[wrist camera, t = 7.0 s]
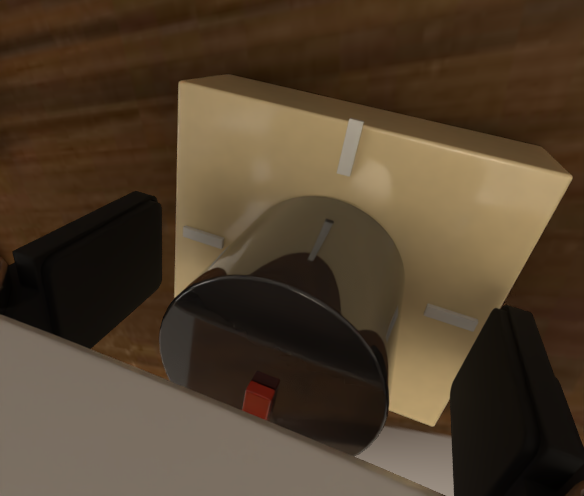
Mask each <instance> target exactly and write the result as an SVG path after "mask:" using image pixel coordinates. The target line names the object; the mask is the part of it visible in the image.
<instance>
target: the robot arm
mask: <svg viewBox="0 0 584 496" xmlns="http://www.w3.org/2000/svg"><path fill="white" fill-rule="evenodd" d="M12 252H13V256H14V260H15V263H13V264H11V265H9V266H8V264H7V262H6V261H5V260H4V259H3V258H1V257H0V496H445V495H443V494H440V493H438V492H436V491H433V490H431V489H429V488H426V487H424V486H422V485H420V484H417V483H415V482H412V481H410V480H408V479H405V478H403V477H401V476H399V475H396V474H394V473H391V472H389V471H387V470H385V469H382V468H380V467H378V466H375V465H373V464H370V463H368V462H366V461H363V460H361V459H358V458H356V457H354V456H351V455H349V454H346V453H344V452H342V451H339V450H337V449H334V448H332V447H329V446H327V445H325V444H322V443H320V442H317V441H315V440H313V439H310V438H308V437H305V436H303V435H300V434H298V433H296V432H293V431H291V430H288V429H286V428H283V427H281V426H279V425H276V424H274V423H271V422H269V421H267V420H264V419H262V418H259V417H257V416H254V415H252V414H249V413H247V412H244V411H242V410H240V409H237V408H235V407H232V406H230V405H227V404H225V403H222V402H220V401H218V400H215V399H213V398H210V397H208V396H205V395H203V394H200V393H198V392H195V391H193V390H190V389H188V388H186V387H183V386H181V385H178V384H176V383H173V382H171V381H168V380H166V379H163V378H161V377H158V376H156V375H154V374H151V373H149V372H146V371H144V370H141V369H139V368H136V367H134V366H131V365H129V364H126V363H124V362H121V361H119V360H116V359H114V358H111V357H109V356H106V355H104V354H101V353H99V352H96V351H94V350H91V348H92V347H93V346H94V345H95V344H97V343H98V342H99V341H100V340H101V339H102V338H103V337H104V336H106V335H107V334H108V333H109V332H110V331H111V330H112V329H113V328H115V327H116V326H117V325H118V324H119V323H120V322H121V321H122V320H124V319H125V318H126V317H127V316H128V315H129V314H130V313H131V312H133V311H134V310H135V309H136V308H137V307H138V306H139V305H140V304H142V303H143V302H144V301H145V300H146V299H147V298H148V297H149V296H151V295H152V294H153V293H154V292H155V291H156V290H157V289H158V288H159V286H160V284H161V281H162V207H161V204H160V203H158V201H157V198H156V197H155V196H151V195H148V194H145V193H142V192H138V191H134V192H132V193H130V194H128V195H126V196H124V197H122V198H120V199H118V200H116V201H113V202H111V203H109V204H107V205H105V206H103V207H101V208H99V209H97V210H95V211H93V212H91V213H89V214H87V215H85V216H83V217H81V218H79V219H77V220H75V221H73V222H71V223H69V224H67V225H65V226H63V227H61V228H59V229H57V230H55V231H53V232H51V233H49V234H47V235H45V236H43V237H41V238H39V239H37V240H35V241H33V242H31V243H28V244H26V245H24V246H22V247H20V248H18V249H16V250H14V251H12ZM450 410H451V433H452V456H453V479H454V496H584V447H583V445H582V442H581V439H580V437H579V434H578V431H577V428H576V426H575V423H574V420H573V417H572V415H571V412H570V409H569V407H568V404H567V401H566V398H565V396H564V393H563V390H562V387H561V385H560V383H559V381H558V379H557V378H556V377H555V376H554V373H553V370H552V367H551V365H550V362H549V359H548V356H547V353H546V351H545V348H544V345H543V342H542V340H541V337H540V334H539V331H538V328H537V326H536V323H535V320H534V317H533V315H532V313H530V312H528V311H524V310H521V309H518V308H515V307H511V306H508V305H505V306H503V307H502V308H501V309H498V308H494V309H493V310H492V311H491V313H490V315H489V317H488V318H487V320H486V322H485V324H484V326H483V328H482V329H481V331H480V333H479V335H478V337H477V338H476V340H475V342H474V344H473V346H472V348H471V349H470V351H469V353H468V355H467V357H466V359H465V360H464V362H463V364H462V366H461V368H460V369H459V371H458V373H457V375H456V377H455V379H454V380H453V383H452V386H451V390H450Z"/></svg>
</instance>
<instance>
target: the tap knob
mask: <svg viewBox="0 0 584 496" xmlns="http://www.w3.org/2000/svg"><path fill="white" fill-rule="evenodd" d="M404 289H405V272H404V266H403V262H402V259H401V256H400V253H399V251H398V249H397V247H396V245H395V243H394V241H393V240H392V238H391V237H390V236H389V234H388V233H387V232H386V231H385V229H384V228H383V227H382V226H381V225H380V224H379V223H378V222H377V221H376V220H374V219H373V218H372V217H371V216H369V215H368V214H366V213H365V212H363V211H362V210H360V209H358V208H357V207H355V206H353V205H351V204H348V203H345V202H343V201H340V200H337V199H332V198H328V197H320V196H302V197H296V198H291V199H288V200H285V201H282V202H280V203H278V204H275V205H273V206H272V207H270V208H269V209H267V210H266V211H265V212H263V213H262V214H261V215H260V216H259V217H258V218H257V219H256V220H255V221H254V222H253V223H252V224H251V225H250V226H249V227H248V228H247V229H246V230H245V231H244V232H242V233H241V234H240V235H239V236H238V237H237V238H236V239H235V240H234V241H233V242H232V243H231V244H230V245H229V246H228V247H227V248H226V249H225V250H224V251H223V252H222V253H221V254H220V255H219V256H218V257H217V258H216V259H215V260H213V261H212V262H211V263H210V264H209V265H208V266H207V267H206V268H205V269H204V270H203V271H202V272H201V273H200V274H199V275H198V276H197V277H196V278H195V279H194V280H193V281H192V282H191V283H190V284H189V285H188V286H187V287H186V288H185V289H183V290H182V291H181V292H180V293H179V294H178V295H177V296H176V297H175V298H174V300H173V301H172V302H171V304H170V305H169V306H168V308H167V310H166V312H165V314H164V316H163V320H162V324H161V327H160V335H159V346H160V354H161V359H162V363H163V366H164V368H165V371H166V374H167V376H168V378H169V380H170V381H171V382H173V383H176V384H178V385H181V386H183V387H186V388H188V389H190V390H193V391H195V392H198V393H200V394H203V395H205V396H208V397H210V398H213V399H215V400H218V401H220V402H222V403H225V404H227V405H230V406H232V407H235V408H237V409H240V410H242V411H244V412H247V413H249V414H252V415H254V416H257V417H259V418H262V419H264V420H267V421H269V422H271V423H274V424H276V425H279V426H281V427H283V428H286V429H288V430H291V431H293V432H296V433H298V434H300V435H303V436H305V437H308V438H310V439H313V440H315V441H317V442H320V443H322V444H325V445H327V446H329V447H332V448H334V449H337V450H339V451H342V452H344V453H346V454H349V455H351V456H354V457H355V456H356V455H358V454H360V453H361V452H363V451H364V450H365V449H367V448H368V447H369V446H370V445H371V444H372V443H373V442H374V441H375V440H376V439H377V437H378V436H379V434H380V432H381V431H382V429H383V428H384V425H385V422H386V419H387V417H388V410H389V404H390V396H391V388H392V381H393V373H394V365H395V358H396V350H397V342H398V335H399V327H400V319H401V312H402V304H403V296H404Z"/></svg>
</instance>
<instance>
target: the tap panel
mask: <svg viewBox="0 0 584 496" xmlns="http://www.w3.org/2000/svg"><path fill="white" fill-rule="evenodd" d="M572 178H573V176H572V175H571V174H570V173H569V172H568V171H567V170H566V169H565V168H564V167H563V166H562V165H561V164H560V163H558V162H557V161H556V160H555V159H554V158H553V157H552V156H551V155H550V154H549V153H548V152H547V151H546V150H545V149H544V148H543V147H541V146H537V145H532V144H528V143H524V142H519V141H515V140H511V139H506V138H502V137H498V136H494V135H489V134H485V133H481V132H476V131H472V130H468V129H463V128H459V127H455V126H450V125H446V124H442V123H437V122H433V121H429V120H425V119H420V118H416V117H412V116H407V115H403V114H399V113H394V112H390V111H386V110H381V109H377V108H373V107H368V106H364V105H360V104H356V103H351V102H347V101H343V100H338V99H334V98H330V97H325V96H321V95H317V94H312V93H308V92H304V91H299V90H295V89H291V88H287V87H282V86H278V85H274V84H269V83H265V82H261V81H256V80H252V79H248V78H243V77H239V76H235V75H230V74H225V75H218V76H211V77H203V78H196V79H189V80H182V81H179V84H178V134H177V187H176V240H175V293H174V298H175V297H176V296H177V295H178V294H179V293H180V292H181V291H182V290H183V289H185V288H186V287H187V286H188V285H189V284H190V283H191V282H192V281H193V280H194V279H195V278H196V277H197V276H198V275H199V274H200V273H201V272H202V271H203V270H204V269H205V268H206V267H207V266H208V265H209V264H210V263H211V262H212V261H213V260H215V259H216V258H217V257H218V256H219V255H220V254H221V253H222V252H223V251H224V250H225V249H226V248H227V247H228V246H229V245H230V244H231V243H232V242H233V241H234V240H235V239H236V238H237V237H238V236H239V235H240V234H241V233H242V232H244V231H245V230H246V229H247V228H248V227H249V226H250V225H251V224H252V223H253V222H254V221H255V220H256V219H257V218H258V217H259V216H260V215H261V214H262V213H263V212H265V211H266V210H267V209H269V208H270V207H272V206H273V205H275V204H278V203H280V202H282V201H285V200H288V199H291V198H296V197H302V196H320V197H328V198H332V199H337V200H340V201H343V202H345V203H348V204H351V205H353V206H355V207H357V208H358V209H360V210H362V211H363V212H365V213H366V214H368V215H369V216H371V217H372V218H373V219H374V220H376V221H377V222H378V223H379V224H380V225H381V226H382V227H383V228H384V229H385V231H386V232H387V233H388V234H389V236H390V237H391V238H392V240H393V241H394V243H395V245H396V247H397V249H398V251H399V253H400V256H401V259H402V262H403V266H404V272H405V289H404V296H403V304H402V312H401V319H400V327H399V335H398V342H397V350H396V358H395V365H394V373H393V381H392V388H391V396H390V404H389V410H390V411H392V412H395V413H397V414H400V415H403V416H405V417H408V418H411V419H413V420H416V421H418V422H421V423H424V424H426V425H429V426H432V427H434V426H435V424H436V422H437V421H438V419H439V417H440V415H441V414H442V412H443V410H444V408H445V406H446V405H447V403H448V401H449V399H450V390H451V386H452V383H453V380H454V379H455V377H456V375H457V373H458V371H459V369H460V368H461V366H462V364H463V362H464V360H465V359H466V357H467V355H468V353H469V351H470V349H471V348H472V346H473V344H474V342H475V340H476V338H477V337H478V335H479V333H480V331H481V329H482V328H483V326H484V324H485V322H486V320H487V318H488V317H489V315H490V313H491V311H492V310H493V309H494V308H498V309H500V308H501V306H502V304H503V303H504V301H505V299H506V297H507V295H508V294H509V292H510V290H511V288H512V286H513V285H514V283H515V281H516V279H517V277H518V276H519V274H520V272H521V270H522V269H523V267H524V265H525V263H526V261H527V260H528V258H529V256H530V254H531V252H532V251H533V249H534V247H535V245H536V243H537V242H538V240H539V238H540V236H541V235H542V233H543V231H544V229H545V227H546V226H547V224H548V222H549V220H550V218H551V217H552V215H553V213H554V211H555V209H556V208H557V206H558V204H559V202H560V201H561V199H562V197H563V195H564V193H565V192H566V190H567V188H568V186H569V184H570V183H571V181H572Z"/></svg>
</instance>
